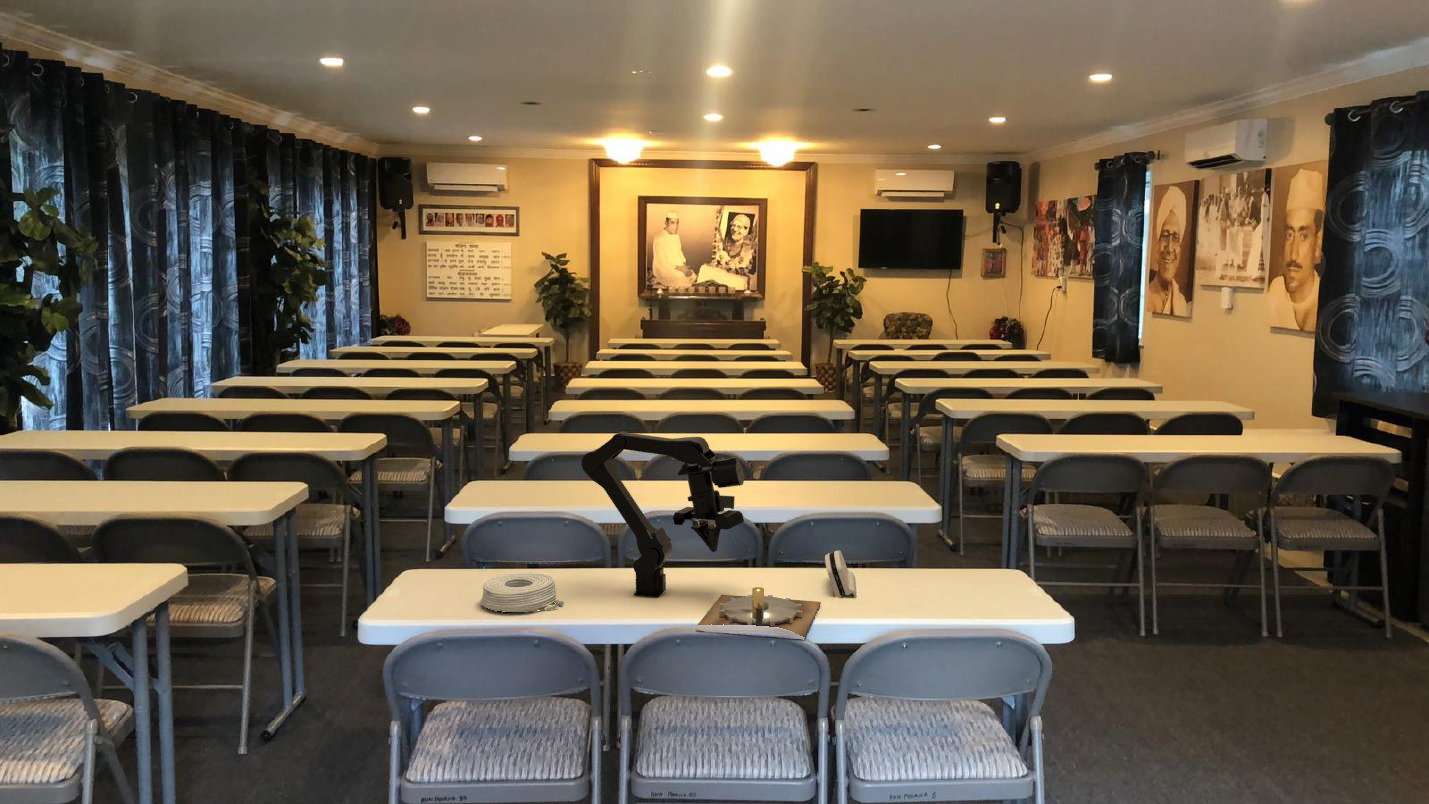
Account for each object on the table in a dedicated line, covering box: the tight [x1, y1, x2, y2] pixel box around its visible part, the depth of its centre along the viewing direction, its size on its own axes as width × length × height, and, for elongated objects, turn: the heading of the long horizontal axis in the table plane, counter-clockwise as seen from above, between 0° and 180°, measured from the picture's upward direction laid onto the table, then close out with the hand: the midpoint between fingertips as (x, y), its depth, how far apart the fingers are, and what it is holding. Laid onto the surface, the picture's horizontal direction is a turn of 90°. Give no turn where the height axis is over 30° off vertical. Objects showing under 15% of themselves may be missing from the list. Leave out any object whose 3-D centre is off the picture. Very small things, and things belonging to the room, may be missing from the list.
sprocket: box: [719, 586, 802, 627], centre depth 241 cm, size 19×19×8 cm
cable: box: [480, 572, 565, 613], centre depth 252 cm, size 18×18×6 cm
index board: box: [697, 594, 822, 639], centre depth 242 cm, size 24×24×6 cm
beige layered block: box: [824, 550, 858, 598], centre depth 264 cm, size 17×5×10 cm, turn 174°
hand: (714, 551), depth 257 cm, fingers closed
